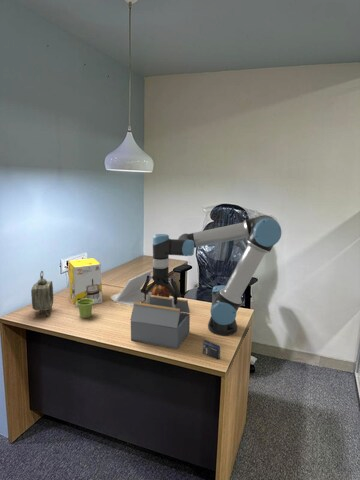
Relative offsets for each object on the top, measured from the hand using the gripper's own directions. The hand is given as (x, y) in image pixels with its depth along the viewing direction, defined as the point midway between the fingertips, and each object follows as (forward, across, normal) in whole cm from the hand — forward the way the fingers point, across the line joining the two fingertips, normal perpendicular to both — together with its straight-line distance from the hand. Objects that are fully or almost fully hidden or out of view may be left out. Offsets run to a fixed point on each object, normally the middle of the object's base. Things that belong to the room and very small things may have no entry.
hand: (160, 308), depth 162 cm
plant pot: (+15, +49, -7) cm, 52 cm away
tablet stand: (+15, +38, -43) cm, 59 cm away
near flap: (+1, 0, +7) cm, 7 cm away
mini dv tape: (+15, -28, +9) cm, 33 cm away
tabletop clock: (+15, +74, -2) cm, 75 cm away
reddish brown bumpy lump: (+15, +13, -31) cm, 37 cm away
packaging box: (+15, +63, -27) cm, 70 cm away
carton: (+15, 0, 0) cm, 15 cm away
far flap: (+1, 0, -7) cm, 7 cm away
